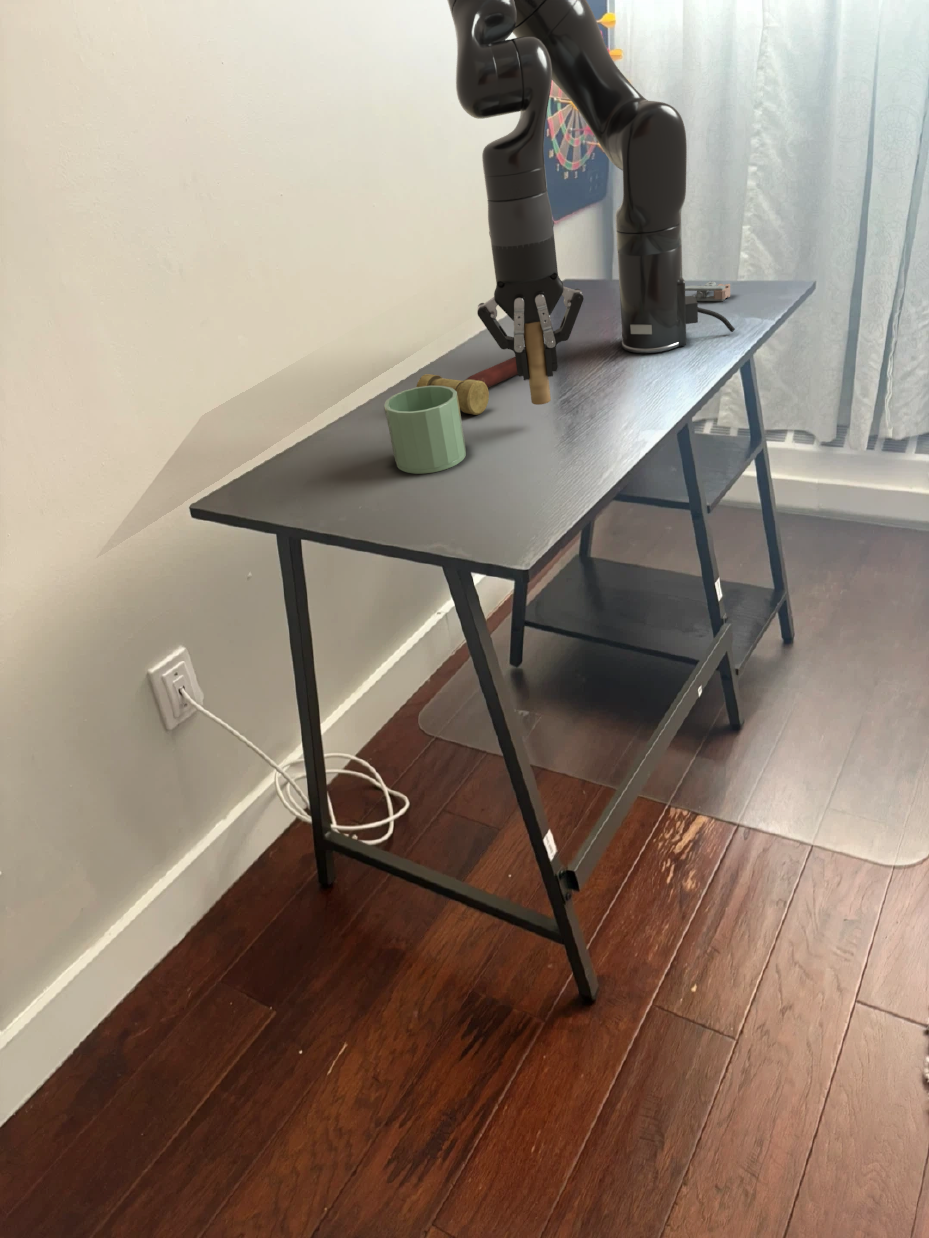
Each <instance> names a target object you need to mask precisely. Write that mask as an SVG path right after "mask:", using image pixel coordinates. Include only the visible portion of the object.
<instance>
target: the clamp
mask: <svg viewBox="0 0 929 1238" xmlns="http://www.w3.org/2000/svg"><path fill="white" fill-rule="evenodd" d="M685 292H696V294H695V295H693V296H694V298H695V299H696V301H697V302H723V301H725V300H726V298H727V299H729V298H730V297H731V283H725V284H723V283H718V284H717V282H716V281H707V282H706V283H705V284H704V285H685ZM709 292H713V295H708V293H709Z"/></svg>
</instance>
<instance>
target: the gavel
mask: <svg viewBox="0 0 929 1238" xmlns="http://www.w3.org/2000/svg"><path fill="white" fill-rule="evenodd" d="M515 376H518V373H517V366H516V358H515V356H513V357H511V358H508V359H506V360H504V361H502V362H499V363H497V364H494V365H492V366H490V367H488V368H486V369H483V370H480V371H478V372H476V373H474V374H471V375H469V376H468V377H466V378H465V379H464V380H459V379H451V378H445V377H442V376H441V375H438V374H430V373H425V374H423V375H422V376H420V377H419V379H418V380H417V383H416V387H423V386H446V387H450V388H453V389H454V390H455V391H456V392H457V395H458V401H459V408H460V411H461V412H462V413H464V414H468V415H474V416H479V415H481V414H482V413H483V412H484V411H485V410H486V408H487V406H488V404H489V398H490V393H489V389H490V388H491V387H493V386H496V385H498V384H499V383H502V382H504V381H506V380H508V379H510V378H513V377H515ZM416 387H415V388H416Z"/></svg>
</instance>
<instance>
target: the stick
mask: <svg viewBox="0 0 929 1238" xmlns="http://www.w3.org/2000/svg"><path fill="white" fill-rule="evenodd" d="M524 347H525V350H526V357H527V366H528V374H529V380H528V383H529V384H528V385H529V393H530V400H531V401H530V402H531V404H532V405H537V406H541V405H545V404H548V403H550V402H551V401H552V400H551V399H552V398H551V389H550V381H549V377H548V374H547V366H546V357H545V338H544V334H543V330H542V326H541V322H540V321H539V322H538V321H530V322H528V323H526V324H524Z"/></svg>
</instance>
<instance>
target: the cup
mask: <svg viewBox="0 0 929 1238" xmlns="http://www.w3.org/2000/svg"><path fill="white" fill-rule="evenodd" d="M383 407H384V411H385V412H384V413H385V417H386V423H387V427H388V432H389V437H390V442H391V447H392V453H393V457H394V461H395V464H396V468H398V470H400V471H401V472H404V473H408V474H415V475H417V474H420V475H421V474H422V475H423V474H432V473H438V472H441V471H446V470H448V469H451V468H453V467H455V466H457V465H458V464H460V463H461V462H462V461H463V460H464V459H465V458H466V455H467V450H466V447H467V446H466V441H465V434H464V429H463V428H464V427H463V422H462V416H461V410H460V408H459V401H458V395H457V392H456V391H455V390H454V389H453V388H450V387H446V386H423V387H412V388H409V389H405V390H402V391H399V392H398V393H395V394H392V395H391V396H390V397H389V398H387V399H385V402H384V406H383Z"/></svg>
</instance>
